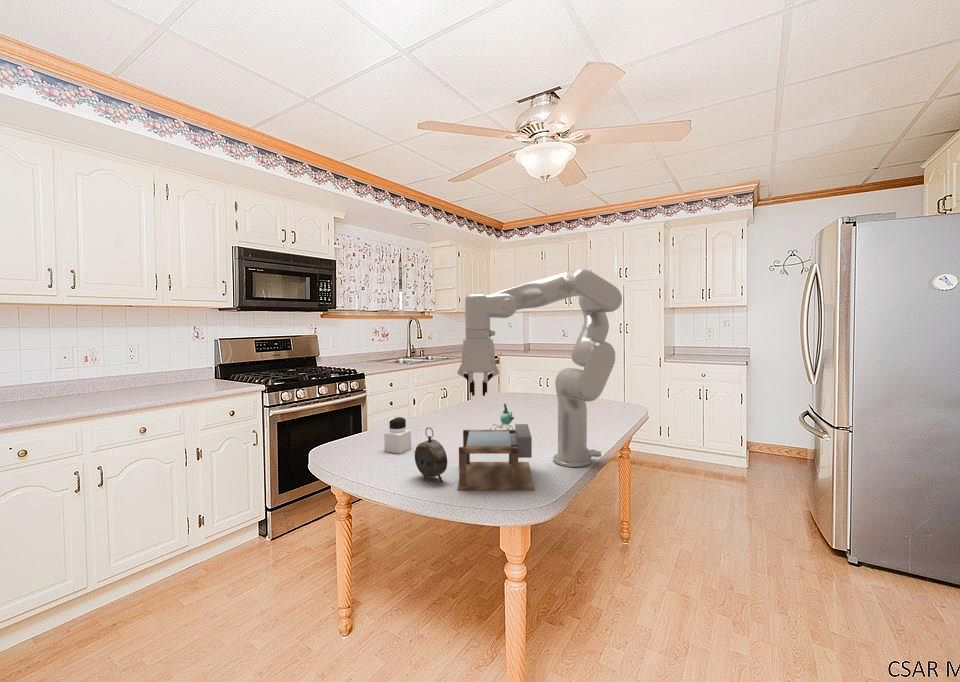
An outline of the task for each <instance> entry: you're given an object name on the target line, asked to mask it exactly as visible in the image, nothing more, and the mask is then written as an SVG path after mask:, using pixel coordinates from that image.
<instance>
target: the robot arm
mask: <svg viewBox="0 0 960 682" xmlns="http://www.w3.org/2000/svg"><path fill="white" fill-rule="evenodd" d="M572 297H578V304H579V306H580V309H581V311H582V314H583V325H582V328H581V331H580V332H579V333H580V334H579V335H578V338H577V339H576V342H575V344H574V346H573V347H572V352H571V360H572V362H573V363H574V364H575V365H577V366H579V367H581V368H583V369H580V368H574V367H567V368H564V369H560V371H559V372H558V373H557V375H556V377H555V381H554V382H555V383H554V385H555V392H556V398H557V453H555V454H554V455H553V458H552V459H553V462H554V463H556V464H557V465H560V466H563V467H569V468H570V467H571V468H582V467H587V466H588V465H590V464H591V463H592V457H594V458H601V457H602V451H601V450H596V449H589V448H588V445H587V443H588V441H587V438H588V437H587V434H588V429H587V428H588V423H587V422H588V409H587V403H588V402H594V401H595V400H597V399H598V398H599V397H600V396H601V394H602V393H603V391H604V388H605V387H606V385H607V383H608V382H607V381H608V380H609V378H610V375H611V374H612V370H613V368H614V366H615V363H616V362H615V361H616V350H615V348H614V347H613V345H612V344H611V343H609V342H607V341H606V339H607V336H608V333H609V329H610V325H609V324H610V323H609V320H608V318H609V317H608V316H607V313H612V312H616V311H617V310H618V309H619V308H620V307H621V306H622V302H623V297H622V293H621V291H620V290H619V288H618V287H617V286H615V285H614V284H613V283H611V282H609V281H608V280H605V279H604V278H602V276H599V275H598V274H596V273H595V272H593V271H591V270H588V269H586V268H579V269H572V270H566V271H562V272H559V273H556V274H552V275H550V276H545V277H543V278H538V279H536V280H533V281H530V282H525V283H523V284H521V285H518V286H514V287H510V288H507V289H502V290H499V291H497V292H494V293H490V294H485V293H476V294H475V293H474V294H473V293H471V294H468V295H466V296H465V298H464V305H465V306H464V310H465V311H464V313H465V315H464V316H465V317H464V318H465V319H464V320H465V339H463V342H462V345H461V346H462V347H461V364H460V366H459V369H458V370H457V375H459V376H461V377H463V378H464V379H466V380H467V382H468V383H469V393H470V394H471V397H474V396H475V391H476V389H475V388H476V387H475V385H476V384H475V380H474V374H475V373H480V374H481V373H482V374H483V380H482V397H485V396H486V394H487V393H488V382H490V380H491V379H492V378H493V377H496V376H498V375H499V374H500V371H499V369H498V366H497V364H496V358H495V357H496V355H495V344H494V340H493V338H492V339H491V337H493V336H496V331H495V330H491V319H496V318H497V319H508V318H510V317H511V316H513V315H515V313H516V312H517V311H519V310H523V309H533V308H540V307H544V306H545V307H546V306H547V305H550V304H551V305H552V304H553V303H556V302H559V301H563V300H565V299H569V298H572ZM488 373H489V374H488Z"/></svg>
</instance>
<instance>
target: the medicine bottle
mask: <svg viewBox="0 0 960 682" xmlns="http://www.w3.org/2000/svg"><path fill="white" fill-rule="evenodd" d="M406 422H407V420H406V418H404V417H399V416H398V417H397V416H396V417H391V418H390V419H389V420H388V429H389V430H387V431H385V432H384V433H383V438H384V445H383V446H384V452H385V453H393V454H396V455H397V454H400V455H401V454H403V453H405V452H407V451H409V450H410V449H412V433H411V432H412V431H411V429H406V428H407V426H406V425H407V424H406Z"/></svg>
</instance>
